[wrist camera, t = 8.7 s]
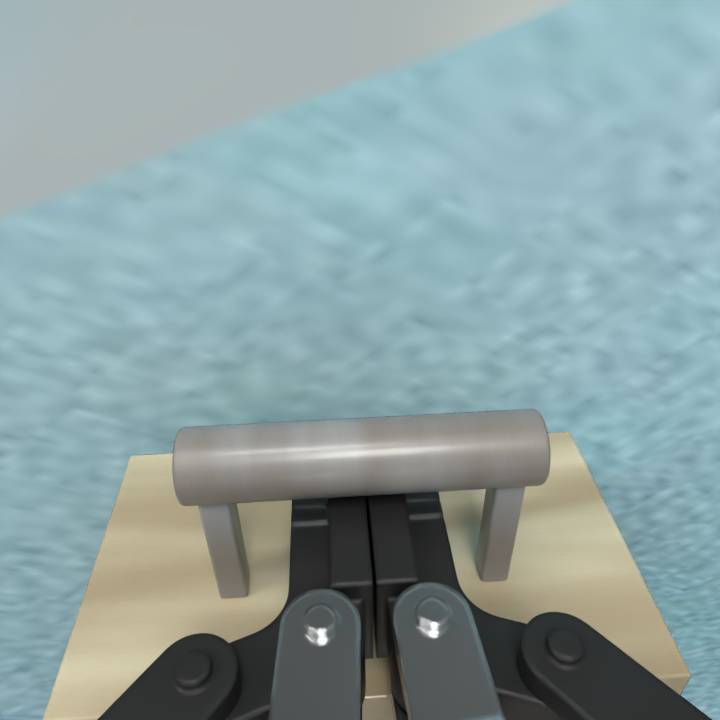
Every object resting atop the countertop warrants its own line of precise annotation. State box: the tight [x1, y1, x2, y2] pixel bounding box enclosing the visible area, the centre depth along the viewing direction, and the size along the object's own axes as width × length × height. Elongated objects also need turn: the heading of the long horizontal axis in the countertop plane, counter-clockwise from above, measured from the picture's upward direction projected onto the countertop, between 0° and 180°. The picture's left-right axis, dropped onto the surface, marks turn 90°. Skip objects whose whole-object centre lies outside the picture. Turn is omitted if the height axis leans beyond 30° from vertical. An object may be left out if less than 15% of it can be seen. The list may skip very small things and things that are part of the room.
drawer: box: [43, 409, 691, 720], centre depth 17 cm, size 19×12×7 cm, turn 1°
